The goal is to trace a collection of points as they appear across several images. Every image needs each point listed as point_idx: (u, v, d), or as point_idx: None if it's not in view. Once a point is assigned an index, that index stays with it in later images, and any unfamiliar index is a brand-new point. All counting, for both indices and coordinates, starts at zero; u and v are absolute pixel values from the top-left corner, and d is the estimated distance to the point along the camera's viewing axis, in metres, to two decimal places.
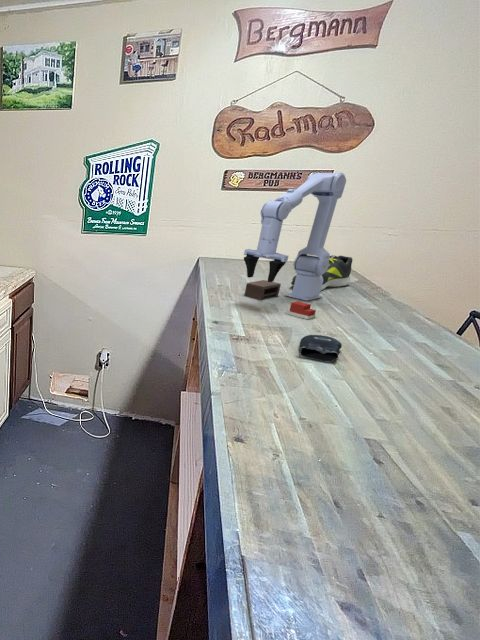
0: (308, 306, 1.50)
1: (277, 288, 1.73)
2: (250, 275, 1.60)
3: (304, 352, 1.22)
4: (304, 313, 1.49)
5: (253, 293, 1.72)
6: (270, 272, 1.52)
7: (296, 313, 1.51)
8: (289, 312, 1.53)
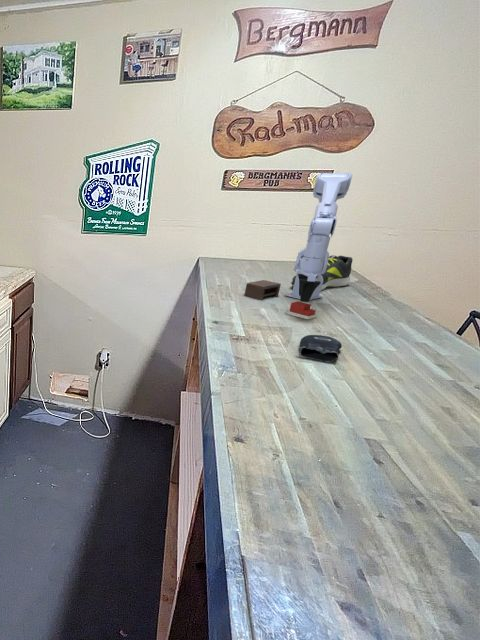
0: (308, 306, 1.50)
1: (277, 288, 1.73)
2: None
3: (304, 352, 1.22)
4: (304, 313, 1.49)
5: (253, 293, 1.72)
6: None
7: (296, 313, 1.51)
8: (289, 312, 1.53)
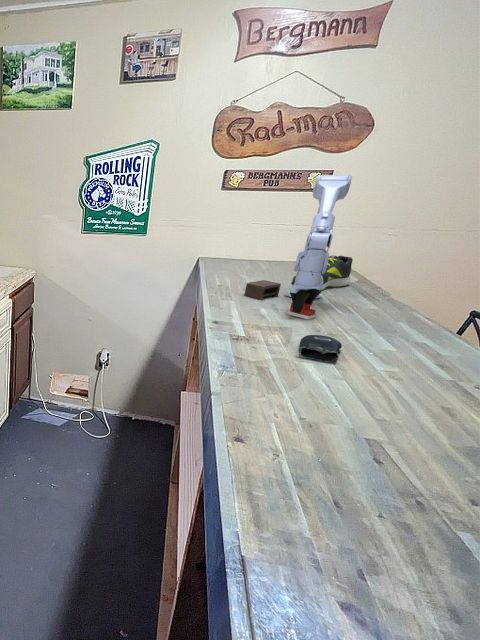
0: (308, 306, 1.50)
1: (277, 288, 1.73)
2: None
3: (304, 352, 1.22)
4: (304, 313, 1.49)
5: (253, 293, 1.72)
6: (311, 302, 1.50)
7: (296, 313, 1.51)
8: (289, 312, 1.53)
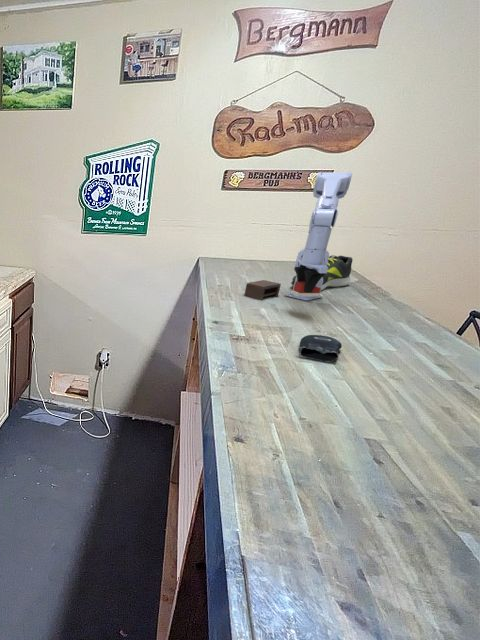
0: None
1: (277, 288, 1.73)
2: None
3: (304, 352, 1.22)
4: (315, 291, 1.48)
5: (253, 293, 1.72)
6: None
7: (307, 293, 1.48)
8: (300, 294, 1.48)
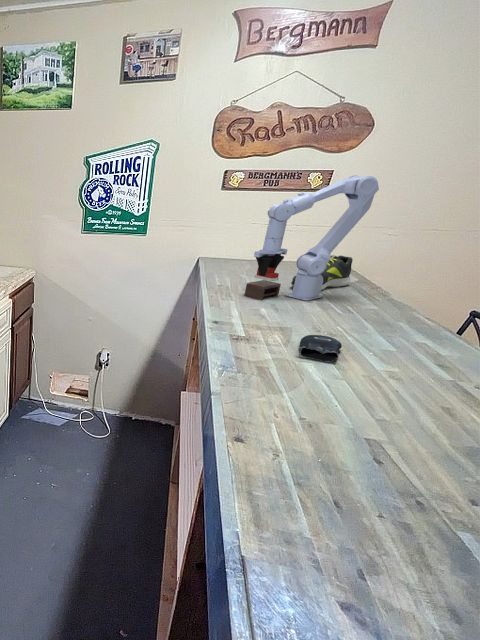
0: (272, 270, 1.69)
1: (277, 288, 1.73)
2: None
3: (304, 352, 1.22)
4: (268, 276, 1.69)
5: (253, 293, 1.72)
6: (275, 266, 1.70)
7: (261, 276, 1.71)
8: (256, 276, 1.73)
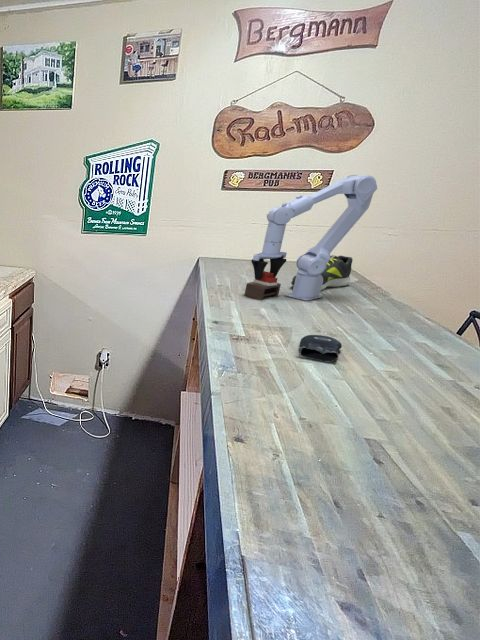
0: (271, 275, 1.70)
1: (277, 288, 1.73)
2: None
3: (304, 352, 1.22)
4: (267, 280, 1.70)
5: (253, 293, 1.72)
6: (277, 269, 1.71)
7: (260, 281, 1.72)
8: (255, 280, 1.74)
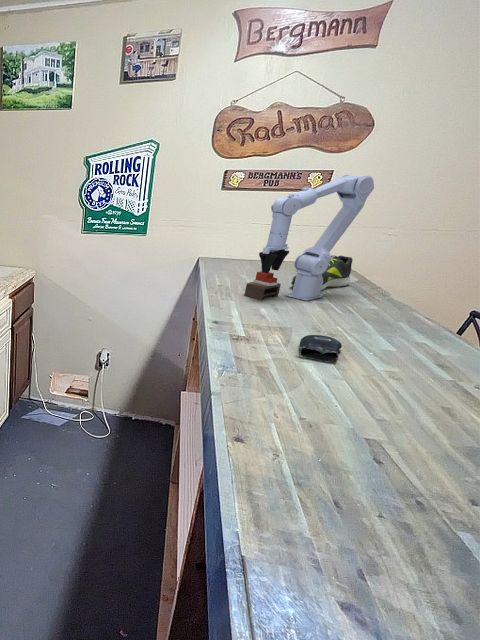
0: (271, 275, 1.70)
1: (277, 288, 1.73)
2: None
3: (304, 352, 1.22)
4: (267, 280, 1.70)
5: (253, 293, 1.72)
6: (281, 261, 1.67)
7: (260, 281, 1.72)
8: (255, 280, 1.74)
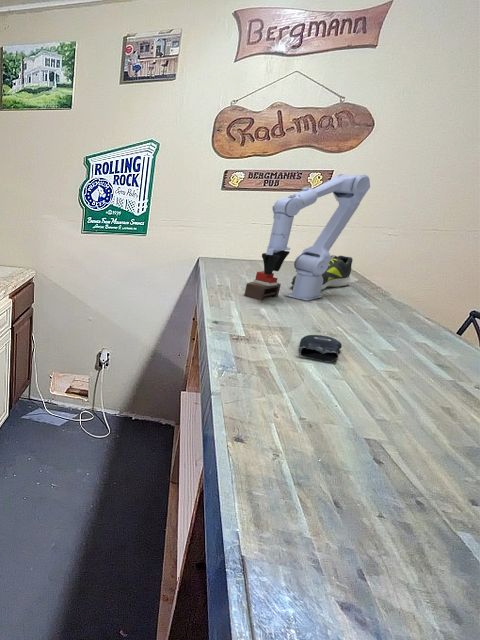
0: (271, 275, 1.70)
1: (277, 288, 1.73)
2: None
3: (304, 352, 1.22)
4: (267, 280, 1.70)
5: (253, 293, 1.72)
6: (281, 262, 1.65)
7: (260, 281, 1.72)
8: (255, 280, 1.74)
